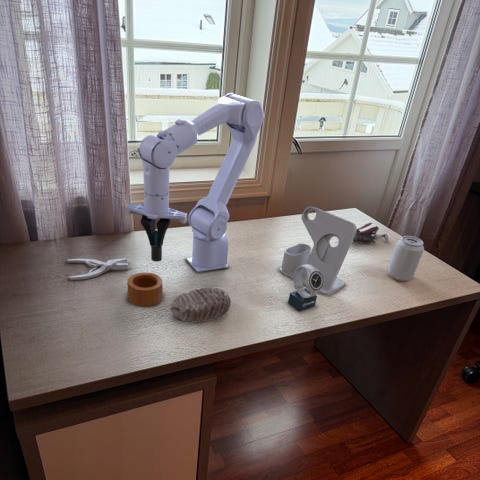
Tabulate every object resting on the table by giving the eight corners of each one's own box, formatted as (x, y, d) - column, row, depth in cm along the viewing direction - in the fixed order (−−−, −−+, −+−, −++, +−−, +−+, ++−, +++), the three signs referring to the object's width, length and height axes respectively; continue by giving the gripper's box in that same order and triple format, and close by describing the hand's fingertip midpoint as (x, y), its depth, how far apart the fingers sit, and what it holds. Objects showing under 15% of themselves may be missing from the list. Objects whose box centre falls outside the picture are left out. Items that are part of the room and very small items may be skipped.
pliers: (66, 256, 118) (124, 252, 123) (67, 261, 119) (125, 257, 124) (68, 274, 110) (130, 270, 115) (69, 280, 111) (130, 275, 116)
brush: (159, 256, 114) (159, 227, 110) (163, 261, 113) (163, 231, 108) (149, 257, 113) (149, 228, 109) (153, 262, 112) (153, 233, 107)
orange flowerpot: (155, 286, 114) (155, 270, 111) (167, 302, 108) (167, 286, 105) (123, 291, 110) (123, 275, 107) (134, 309, 104) (133, 292, 102)
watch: (304, 315, 110) (313, 277, 104) (283, 299, 115) (290, 262, 108) (320, 310, 113) (330, 272, 106) (299, 294, 118) (307, 257, 111)
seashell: (217, 285, 112) (224, 266, 103) (233, 317, 110) (242, 301, 100) (163, 304, 107) (166, 287, 98) (179, 338, 105) (183, 324, 95)
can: (413, 274, 135) (427, 238, 128) (410, 285, 129) (424, 248, 122) (388, 267, 137) (401, 231, 130) (384, 277, 131) (397, 240, 124)
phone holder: (276, 270, 127) (287, 210, 117) (297, 260, 134) (309, 203, 124) (326, 296, 119) (343, 234, 108) (346, 284, 125) (363, 224, 115)
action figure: (372, 235, 158) (333, 239, 149) (377, 219, 155) (337, 222, 146) (388, 243, 152) (348, 248, 144) (393, 227, 149) (353, 230, 140)
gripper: (119, 192, 100) (122, 246, 108) (182, 202, 99) (180, 256, 107) (130, 182, 106) (132, 235, 114) (190, 192, 105) (187, 244, 113)
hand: (156, 245), depth 111 cm, fingers closed on brush
